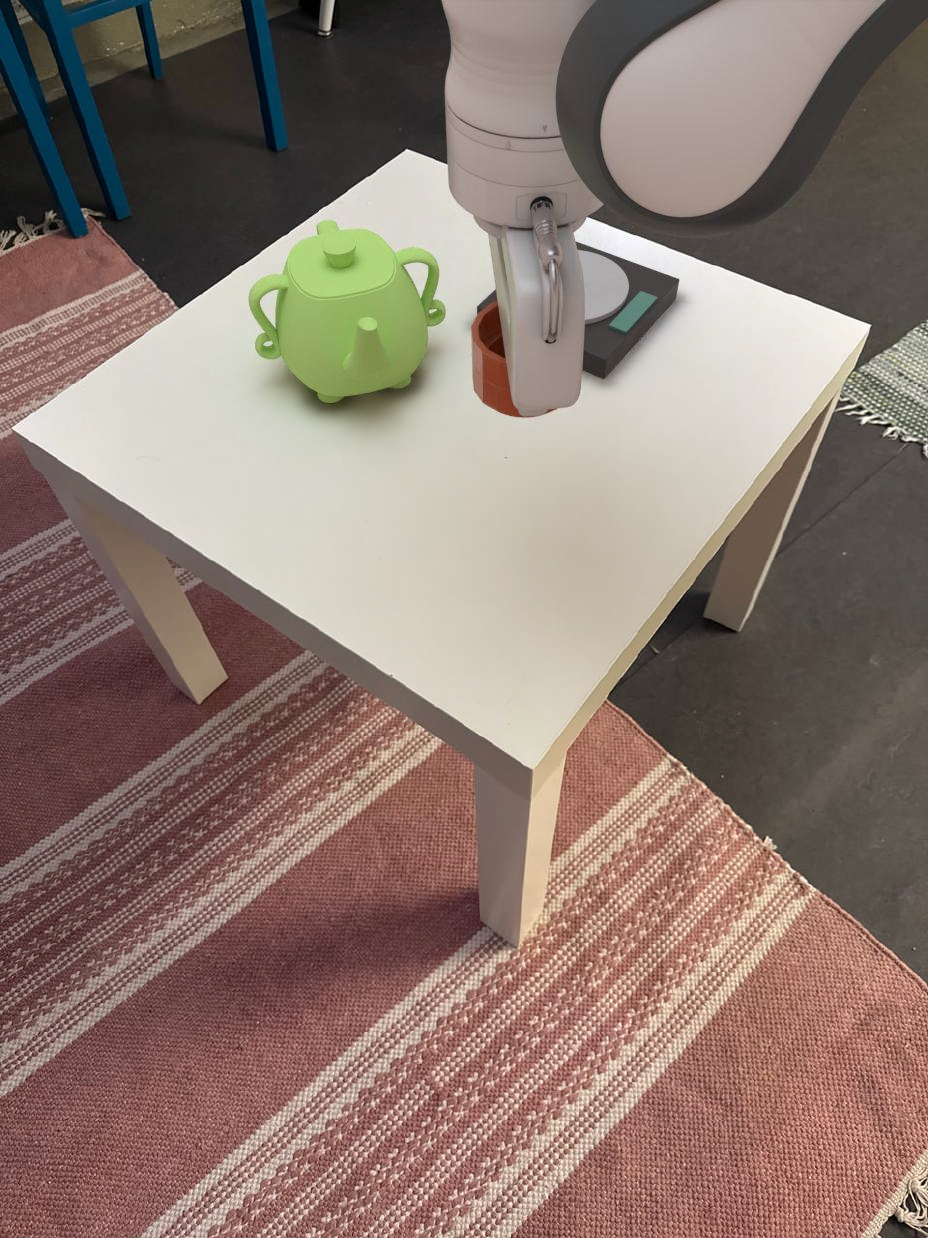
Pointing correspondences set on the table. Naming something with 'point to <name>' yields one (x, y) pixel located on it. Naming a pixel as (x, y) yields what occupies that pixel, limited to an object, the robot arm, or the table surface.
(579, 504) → the table surface
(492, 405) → the orange cup
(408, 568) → the table surface
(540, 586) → the table surface
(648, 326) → the scale
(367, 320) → the teapot
